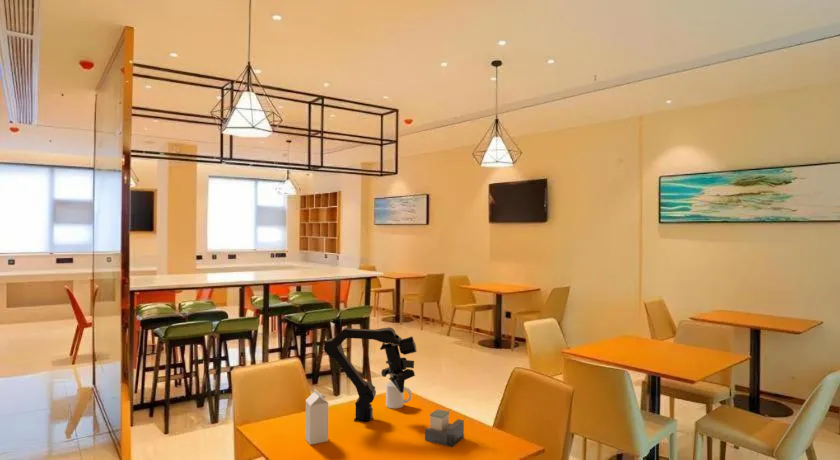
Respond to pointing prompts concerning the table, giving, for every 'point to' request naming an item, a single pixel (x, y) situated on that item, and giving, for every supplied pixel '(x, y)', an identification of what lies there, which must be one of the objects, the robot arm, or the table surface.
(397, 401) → the mug
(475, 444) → the table surface
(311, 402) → the milk carton
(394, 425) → the table surface
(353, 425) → the table surface
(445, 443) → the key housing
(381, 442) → the table surface
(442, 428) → the plunger key
